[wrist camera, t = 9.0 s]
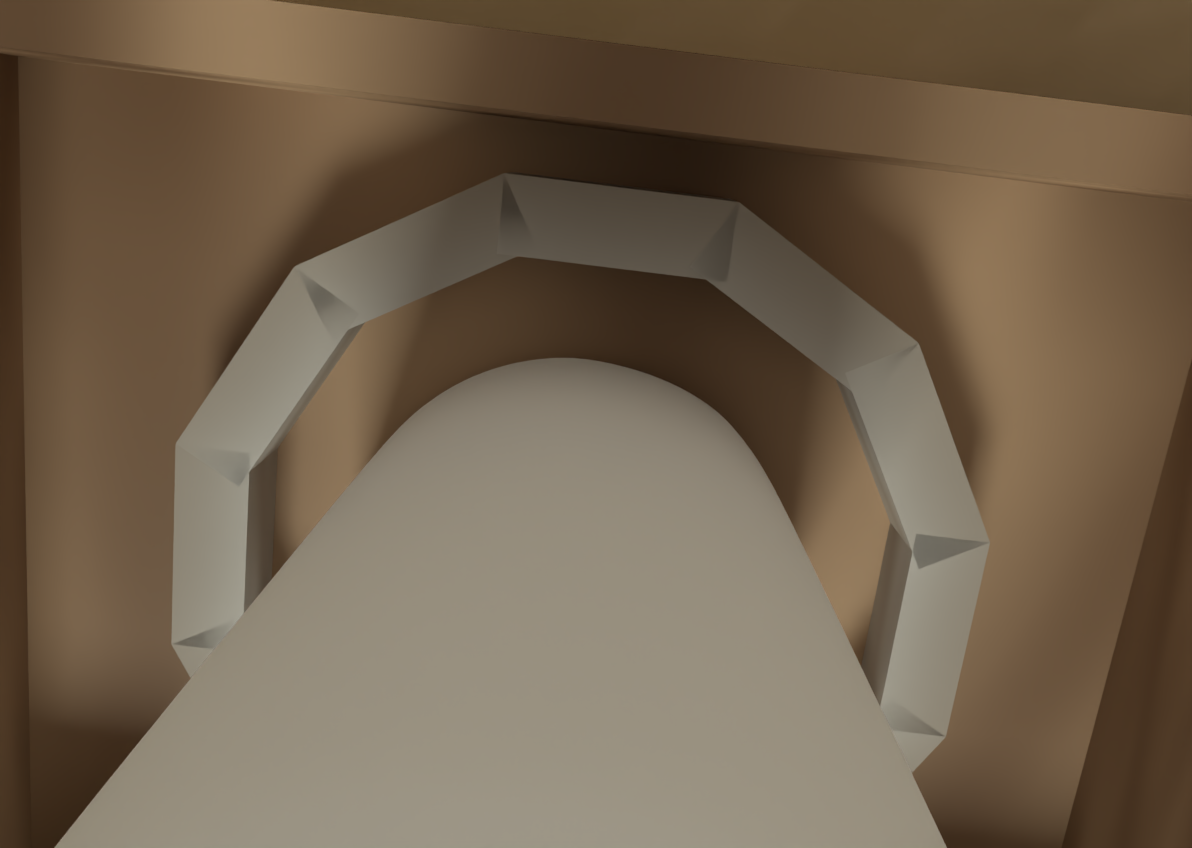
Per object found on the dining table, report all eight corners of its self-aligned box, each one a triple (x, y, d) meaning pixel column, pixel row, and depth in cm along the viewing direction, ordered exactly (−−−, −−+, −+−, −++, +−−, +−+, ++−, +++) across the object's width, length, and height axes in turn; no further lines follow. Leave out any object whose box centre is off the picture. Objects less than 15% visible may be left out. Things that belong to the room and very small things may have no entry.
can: (869, 475, 15) (1729, 1560, 3) (657, 821, 17) (753, 2396, 5) (466, 268, 14) (-163, 734, 3) (283, 647, 16) (-627, 1980, 4)
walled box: (4, 867, 18) (-142, 1035, 14) (-18, -9, 14) (-216, -61, 11) (1050, 990, 18) (1152, 1185, 14) (1280, 153, 14) (1484, 152, 11)
